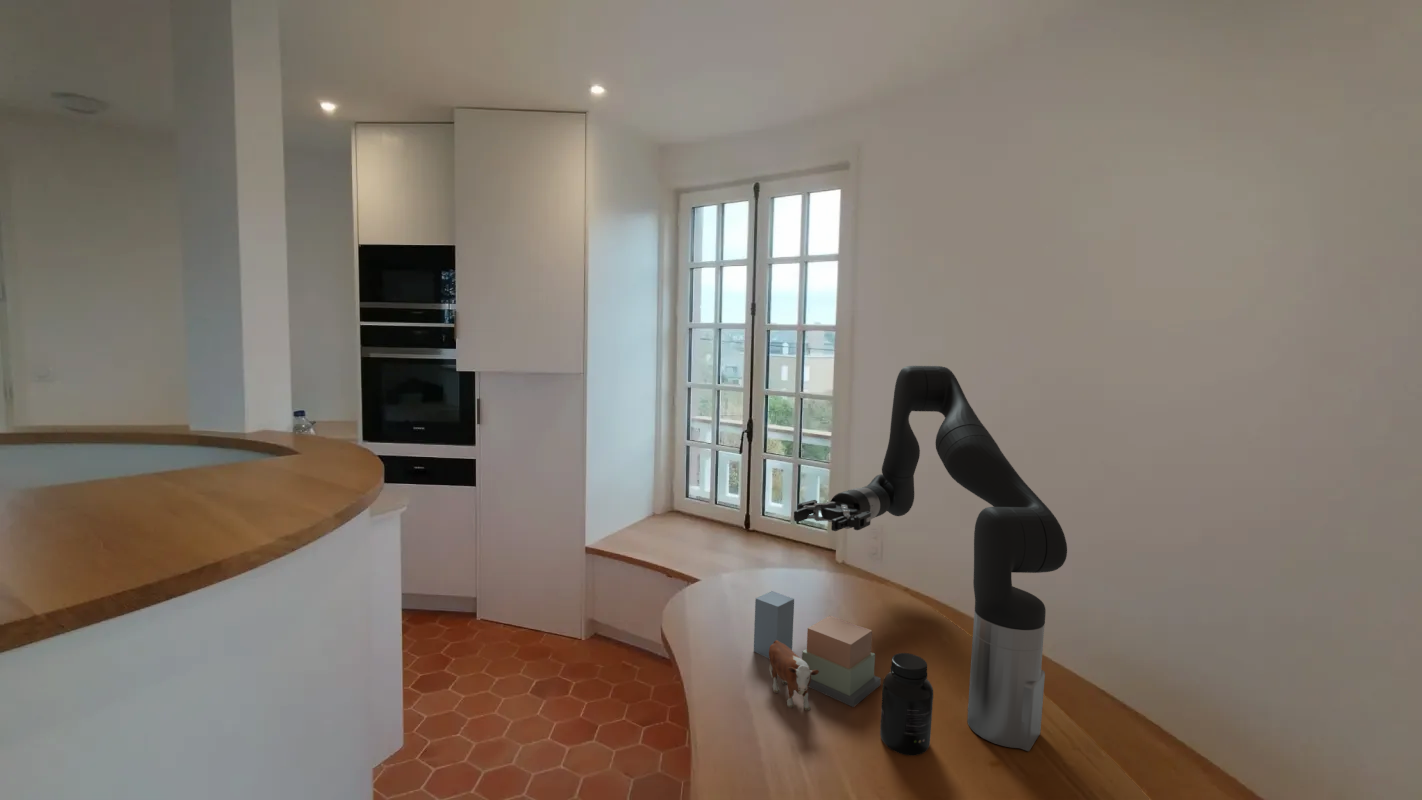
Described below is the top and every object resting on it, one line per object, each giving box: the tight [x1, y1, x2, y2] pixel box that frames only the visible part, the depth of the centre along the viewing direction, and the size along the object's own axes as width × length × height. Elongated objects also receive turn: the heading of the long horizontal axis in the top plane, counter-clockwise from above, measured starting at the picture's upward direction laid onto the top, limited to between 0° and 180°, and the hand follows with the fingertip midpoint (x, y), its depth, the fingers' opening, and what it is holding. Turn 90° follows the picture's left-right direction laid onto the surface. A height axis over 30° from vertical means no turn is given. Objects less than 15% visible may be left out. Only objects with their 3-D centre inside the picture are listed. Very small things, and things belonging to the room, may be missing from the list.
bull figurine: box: [768, 640, 819, 711], centre depth 97 cm, size 4×13×8 cm, turn 15°
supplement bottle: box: [879, 652, 934, 757], centre depth 87 cm, size 7×7×12 cm
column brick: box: [753, 590, 795, 659], centre depth 112 cm, size 5×5×10 cm
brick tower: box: [801, 615, 882, 708], centre depth 102 cm, size 11×9×9 cm
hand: (814, 521), depth 120 cm, fingers open, 8 cm apart
